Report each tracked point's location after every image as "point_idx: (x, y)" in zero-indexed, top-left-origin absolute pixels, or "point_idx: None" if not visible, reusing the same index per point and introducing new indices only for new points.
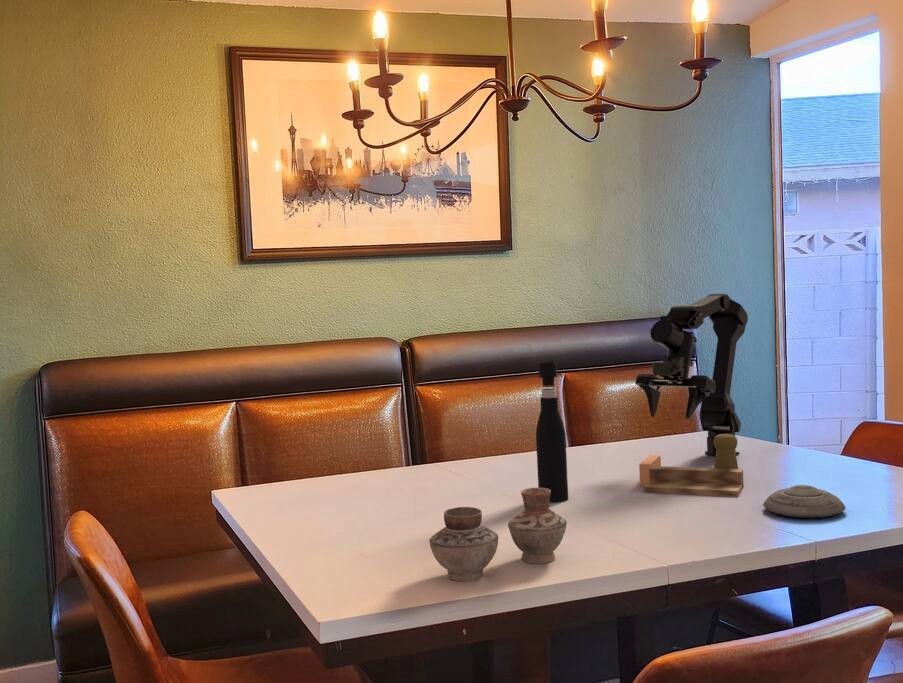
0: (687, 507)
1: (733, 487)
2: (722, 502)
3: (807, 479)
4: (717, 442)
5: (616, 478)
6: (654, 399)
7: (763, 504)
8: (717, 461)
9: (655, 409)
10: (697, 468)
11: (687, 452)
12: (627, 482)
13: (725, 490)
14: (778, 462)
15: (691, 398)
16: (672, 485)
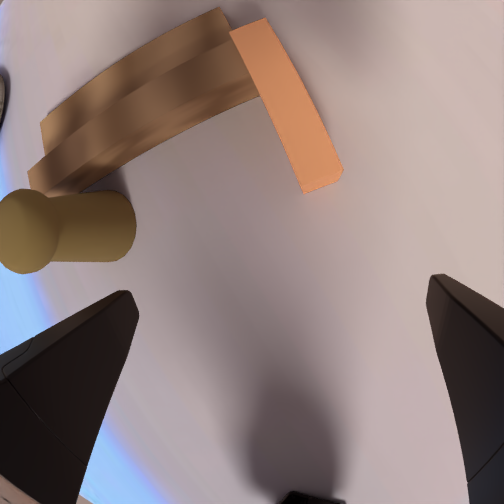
0: (94, 8)
1: (52, 141)
2: (57, 72)
3: None
4: (25, 189)
5: (400, 95)
6: (495, 407)
7: (3, 86)
8: (75, 197)
9: (445, 351)
10: (113, 133)
11: (393, 499)
12: (336, 67)
13: (56, 108)
14: (152, 475)
15: (3, 363)
16: (163, 57)
